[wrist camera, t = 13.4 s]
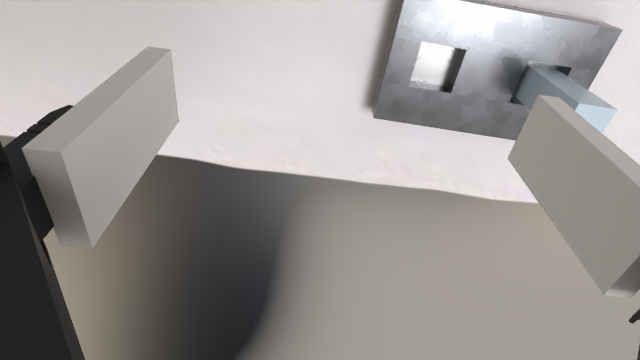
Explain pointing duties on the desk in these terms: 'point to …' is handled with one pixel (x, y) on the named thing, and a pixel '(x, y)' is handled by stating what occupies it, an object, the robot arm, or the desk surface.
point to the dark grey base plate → (479, 62)
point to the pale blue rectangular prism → (562, 94)
